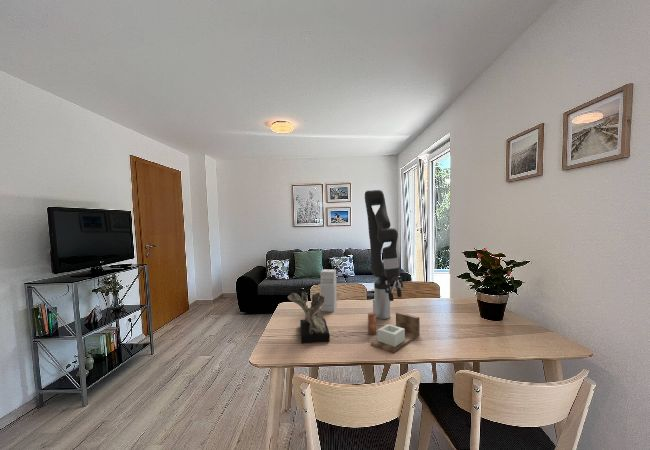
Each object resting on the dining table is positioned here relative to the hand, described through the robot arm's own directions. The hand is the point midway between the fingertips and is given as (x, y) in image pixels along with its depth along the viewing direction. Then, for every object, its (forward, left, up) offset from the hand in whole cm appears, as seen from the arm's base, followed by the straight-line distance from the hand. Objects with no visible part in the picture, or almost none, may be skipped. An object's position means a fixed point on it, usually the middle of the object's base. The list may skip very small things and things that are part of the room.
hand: (395, 298), depth 144 cm
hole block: (+5, -12, -16) cm, 21 cm away
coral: (-31, -32, -18) cm, 48 cm away
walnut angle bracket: (+5, -8, -17) cm, 20 cm away
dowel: (-8, -9, -17) cm, 21 cm away
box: (-50, +4, -17) cm, 53 cm away
